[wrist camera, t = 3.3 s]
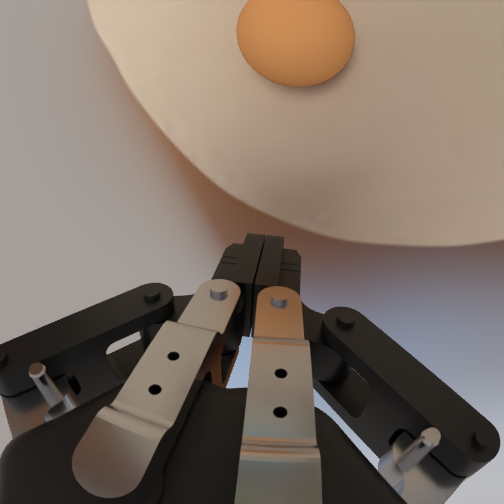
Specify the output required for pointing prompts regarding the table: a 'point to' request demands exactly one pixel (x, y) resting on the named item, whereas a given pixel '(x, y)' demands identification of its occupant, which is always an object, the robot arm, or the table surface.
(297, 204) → the table surface
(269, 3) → the orange ball
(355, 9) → the table surface
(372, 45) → the table surface
